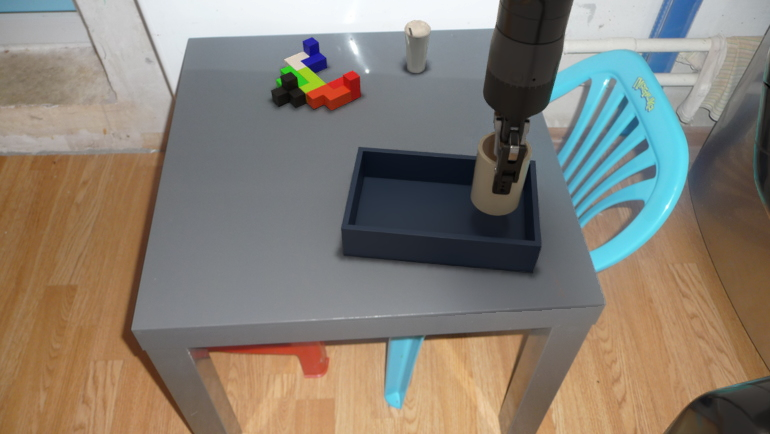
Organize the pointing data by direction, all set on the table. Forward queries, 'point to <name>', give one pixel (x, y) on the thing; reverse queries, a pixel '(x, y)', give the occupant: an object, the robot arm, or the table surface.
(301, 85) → the building blocks
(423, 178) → the navy tray
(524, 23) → the robot arm
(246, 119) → the table surface
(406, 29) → the milkshake
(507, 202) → the cup
